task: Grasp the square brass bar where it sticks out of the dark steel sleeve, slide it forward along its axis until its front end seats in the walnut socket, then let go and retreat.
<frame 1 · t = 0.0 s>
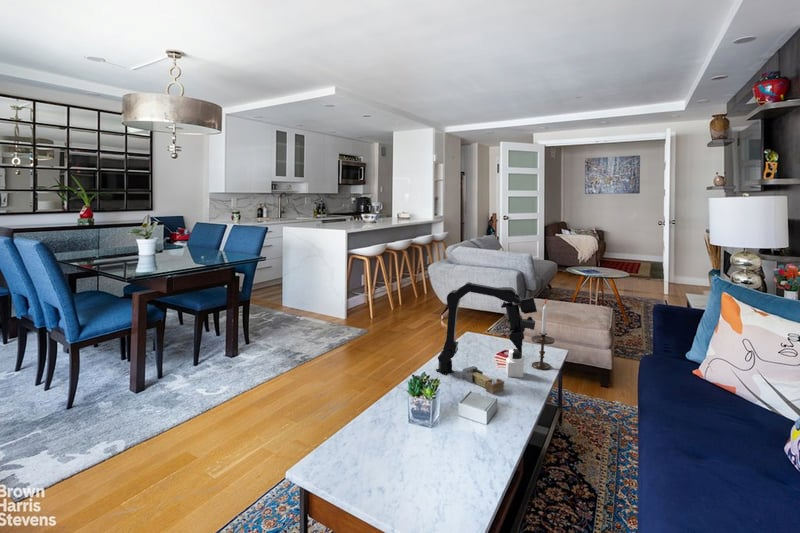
hand: (521, 348, 198), 15 cm above the table, tool pointing down, fingers open, 9 cm apart
socket: (494, 390, 190), on the table
sleeve: (472, 379, 202), on the table
candlestick: (541, 367, 218), on the table
bar: (478, 378, 198), point 2 cm above the table, slide at 0.0 cm
medicine bottle: (514, 374, 208), on the table
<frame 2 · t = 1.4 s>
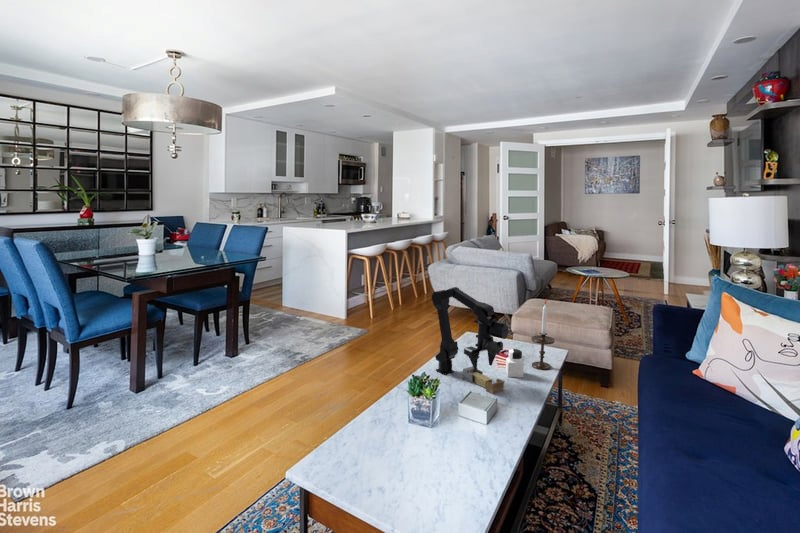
hand: (482, 367, 195), 8 cm above the table, tool pointing down, fingers open, 9 cm apart
nothing on the table moved.
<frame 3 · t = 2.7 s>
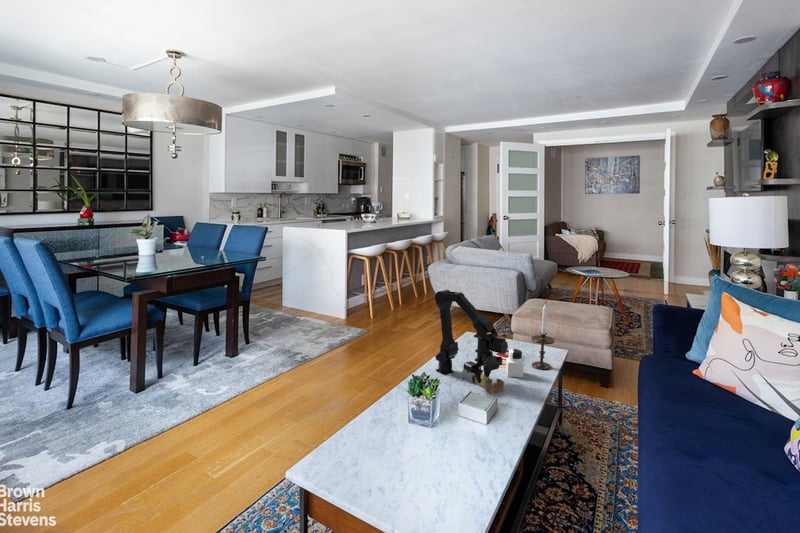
hand: (482, 381, 196), 1 cm above the table, tool pointing down, fingers closed on bar, 4 cm apart
bar: (478, 378, 198), point 2 cm above the table, slide at 0.0 cm, touching gripper
everything else where it was.
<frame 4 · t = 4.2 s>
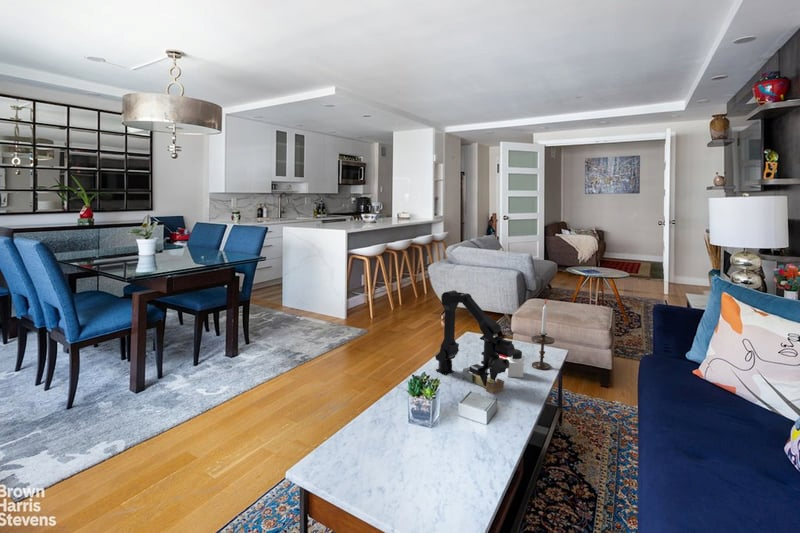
hand: (488, 384, 193), 1 cm above the table, tool pointing down, fingers closed on bar, 4 cm apart
bar: (484, 381, 195), point 2 cm above the table, slide at 3.9 cm, touching gripper
everything else where it was.
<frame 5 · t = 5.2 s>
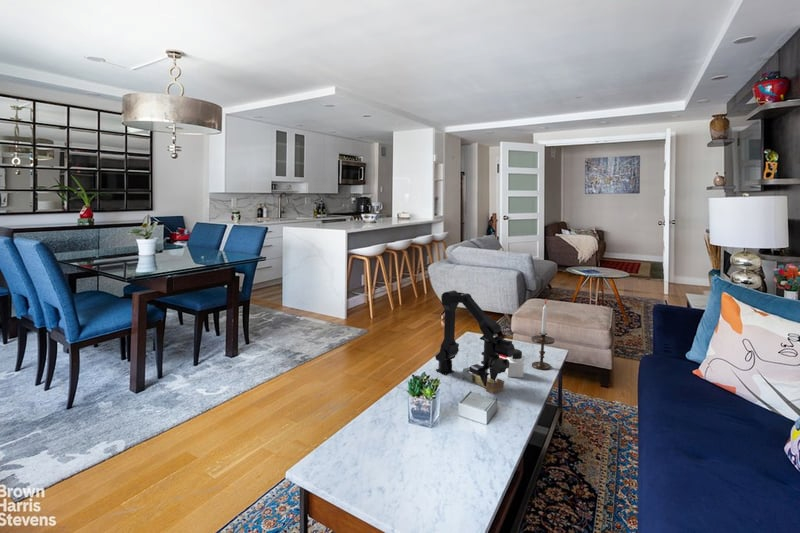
hand: (488, 384, 193), 1 cm above the table, tool pointing down, fingers open, 4 cm apart
bar: (484, 381, 195), point 2 cm above the table, slide at 4.0 cm
everything else where it was.
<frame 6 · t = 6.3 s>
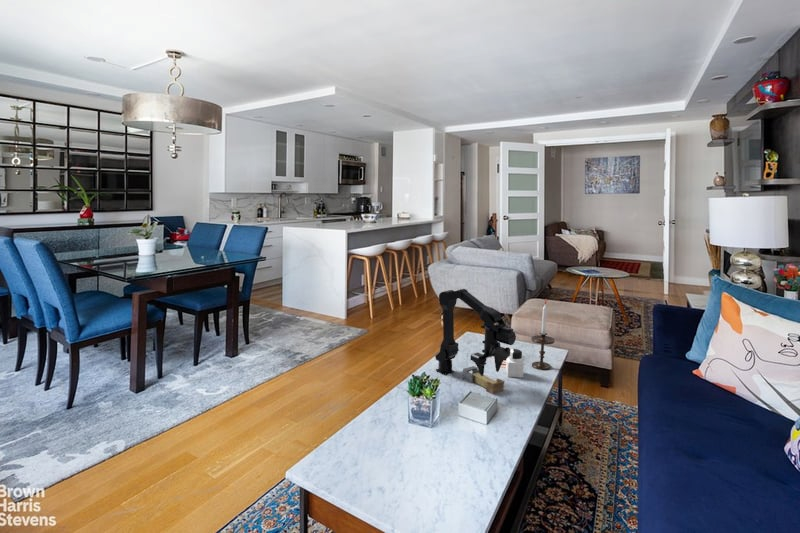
hand: (489, 373, 192), 7 cm above the table, tool pointing down, fingers open, 9 cm apart
nothing on the table moved.
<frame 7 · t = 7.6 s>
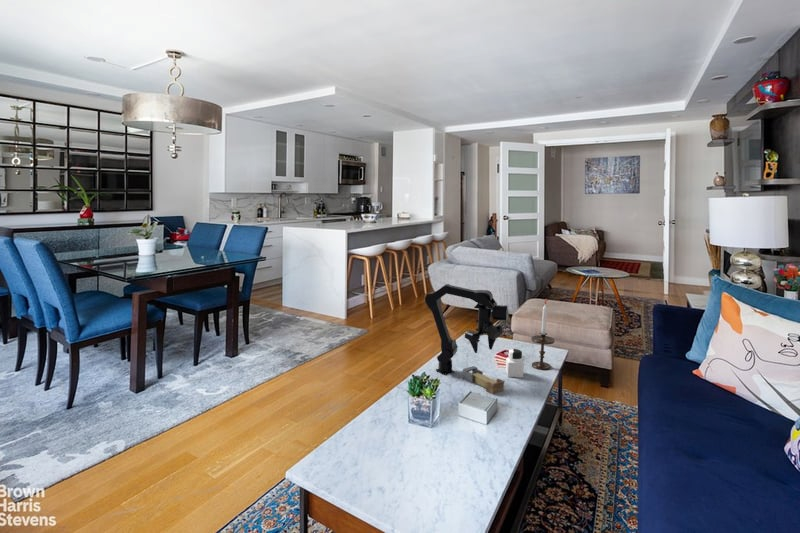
hand: (483, 351, 201), 13 cm above the table, tool pointing down, fingers open, 9 cm apart
nothing on the table moved.
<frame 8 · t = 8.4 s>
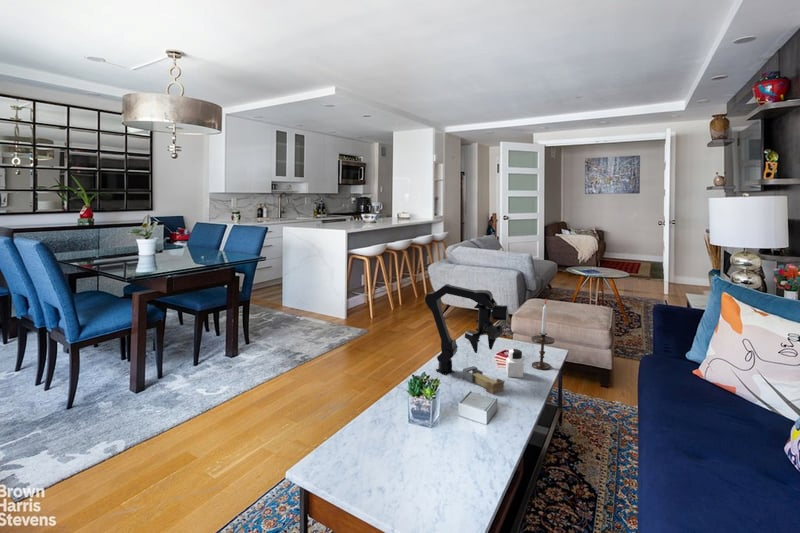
hand: (483, 351, 201), 13 cm above the table, tool pointing down, fingers open, 9 cm apart
nothing on the table moved.
at the end: bar slide at 4.0 cm; the gripper is holding nothing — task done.
